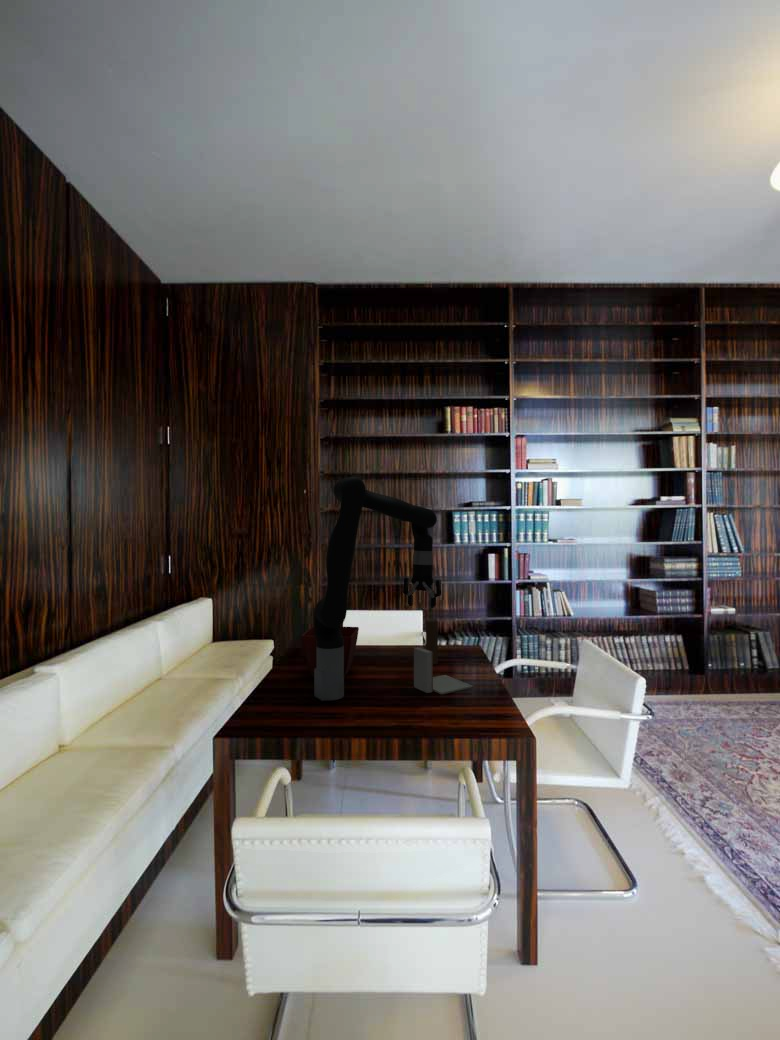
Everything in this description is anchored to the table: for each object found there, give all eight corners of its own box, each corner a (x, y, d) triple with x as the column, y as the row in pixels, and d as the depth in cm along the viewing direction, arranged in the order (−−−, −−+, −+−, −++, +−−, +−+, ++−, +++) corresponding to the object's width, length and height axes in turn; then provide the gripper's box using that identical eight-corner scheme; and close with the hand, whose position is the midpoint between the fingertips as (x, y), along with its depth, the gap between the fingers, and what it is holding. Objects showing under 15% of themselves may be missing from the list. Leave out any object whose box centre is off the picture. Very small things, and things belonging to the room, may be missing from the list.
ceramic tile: (427, 693, 184) (426, 652, 184) (414, 687, 191) (413, 648, 191) (432, 691, 186) (432, 651, 186) (419, 685, 193) (419, 647, 193)
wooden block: (416, 664, 220) (416, 621, 220) (415, 661, 225) (415, 619, 225) (438, 664, 221) (437, 621, 220) (436, 661, 225) (436, 619, 225)
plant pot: (359, 667, 217) (359, 626, 217) (351, 681, 198) (351, 636, 198) (313, 666, 219) (313, 625, 219) (301, 680, 200) (300, 635, 200)
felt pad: (441, 694, 183) (441, 692, 183) (415, 682, 196) (415, 680, 196) (472, 687, 190) (472, 685, 190) (445, 676, 204) (445, 674, 204)
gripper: (401, 562, 197) (400, 606, 197) (438, 564, 192) (436, 609, 191) (408, 561, 204) (407, 604, 204) (444, 563, 198) (443, 607, 198)
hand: (421, 606), depth 198 cm, fingers open, 8 cm apart
